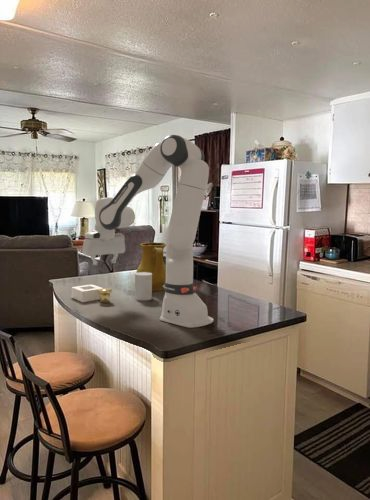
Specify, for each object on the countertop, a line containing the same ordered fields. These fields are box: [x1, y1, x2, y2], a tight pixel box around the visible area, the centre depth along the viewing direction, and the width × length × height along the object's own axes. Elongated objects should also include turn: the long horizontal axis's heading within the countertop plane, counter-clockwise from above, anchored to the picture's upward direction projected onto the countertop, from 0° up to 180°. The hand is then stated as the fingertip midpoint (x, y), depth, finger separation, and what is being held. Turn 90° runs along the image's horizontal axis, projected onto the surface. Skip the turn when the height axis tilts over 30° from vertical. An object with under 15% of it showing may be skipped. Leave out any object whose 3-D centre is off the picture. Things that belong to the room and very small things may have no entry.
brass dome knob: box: [98, 287, 113, 304], centre depth 182 cm, size 6×6×6 cm
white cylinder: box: [134, 272, 153, 301], centre depth 190 cm, size 8×8×12 cm
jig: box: [71, 283, 103, 303], centre depth 188 cm, size 11×11×5 cm
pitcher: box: [135, 241, 166, 292], centre depth 208 cm, size 17×19×25 cm
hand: (104, 264), depth 180 cm, fingers open, 8 cm apart
